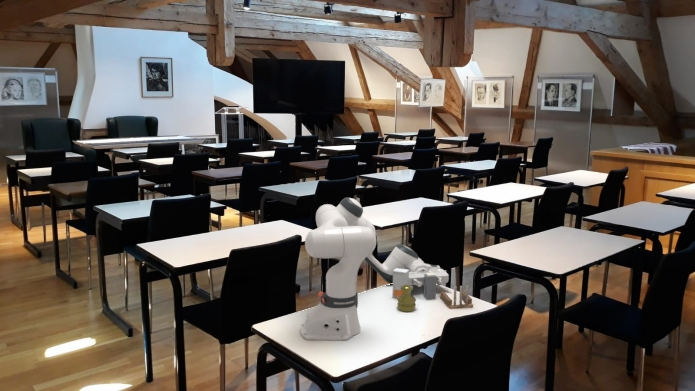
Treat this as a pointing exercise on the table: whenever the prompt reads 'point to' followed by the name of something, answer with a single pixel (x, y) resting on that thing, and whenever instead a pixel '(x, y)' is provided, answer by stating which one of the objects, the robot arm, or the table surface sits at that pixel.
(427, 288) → the plug
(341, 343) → the table surface
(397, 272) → the skincare box
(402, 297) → the brass weight
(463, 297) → the cradle
